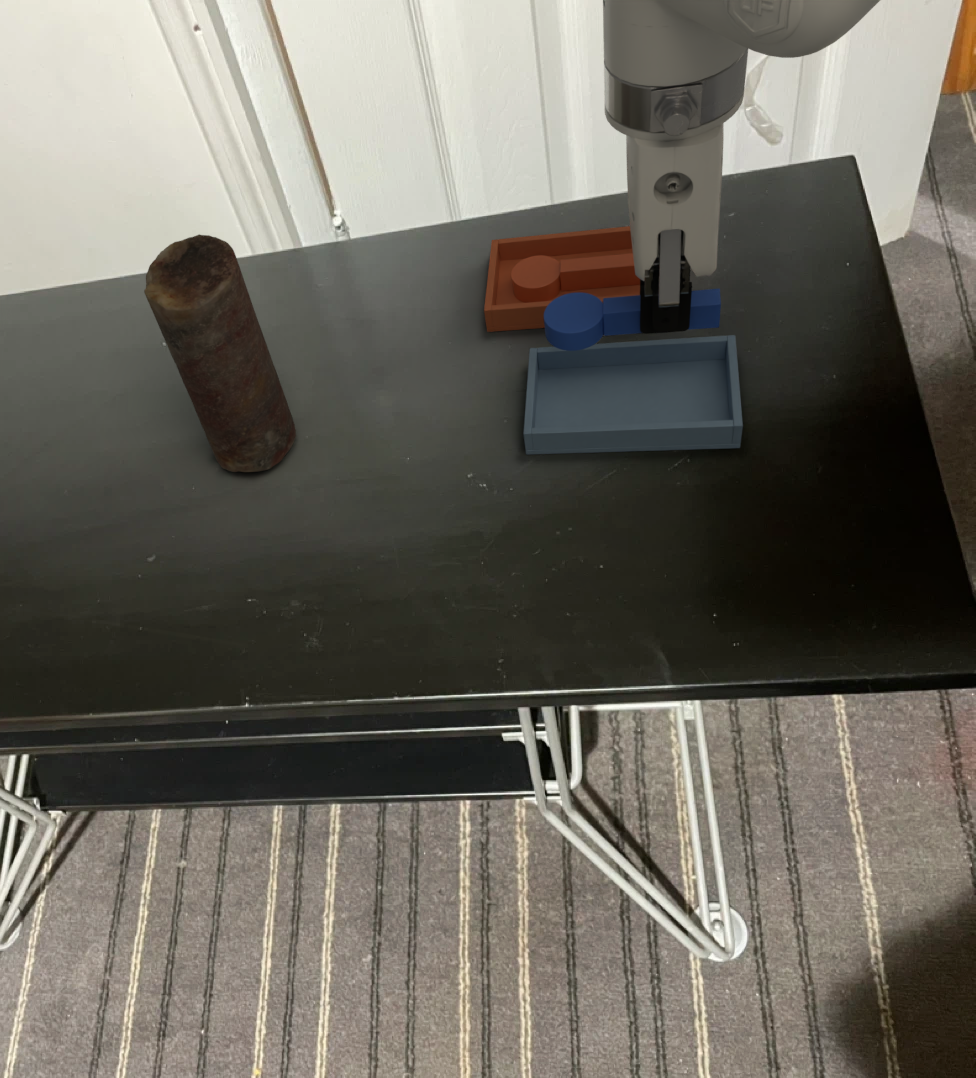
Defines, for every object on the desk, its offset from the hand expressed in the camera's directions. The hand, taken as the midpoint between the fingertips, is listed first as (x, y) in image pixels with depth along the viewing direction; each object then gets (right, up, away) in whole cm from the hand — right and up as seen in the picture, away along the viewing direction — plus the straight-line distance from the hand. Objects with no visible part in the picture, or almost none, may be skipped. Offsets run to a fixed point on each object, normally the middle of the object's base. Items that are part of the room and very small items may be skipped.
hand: (663, 316), depth 73 cm
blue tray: (0, -5, +8) cm, 9 cm away
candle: (-28, -8, +16) cm, 34 cm away
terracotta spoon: (-1, +6, +16) cm, 17 cm away
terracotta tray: (-1, +6, +17) cm, 18 cm away
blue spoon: (-2, 0, +1) cm, 3 cm away
